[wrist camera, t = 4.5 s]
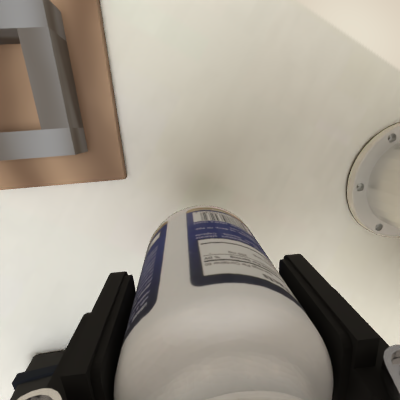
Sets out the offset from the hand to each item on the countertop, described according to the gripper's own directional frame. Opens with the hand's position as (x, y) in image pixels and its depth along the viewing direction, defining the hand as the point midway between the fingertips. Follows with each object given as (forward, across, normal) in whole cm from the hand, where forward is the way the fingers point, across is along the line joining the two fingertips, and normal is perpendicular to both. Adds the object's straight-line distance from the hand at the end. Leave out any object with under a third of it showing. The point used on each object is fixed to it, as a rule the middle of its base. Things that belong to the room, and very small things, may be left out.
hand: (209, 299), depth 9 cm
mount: (+16, +14, -10) cm, 24 cm away
